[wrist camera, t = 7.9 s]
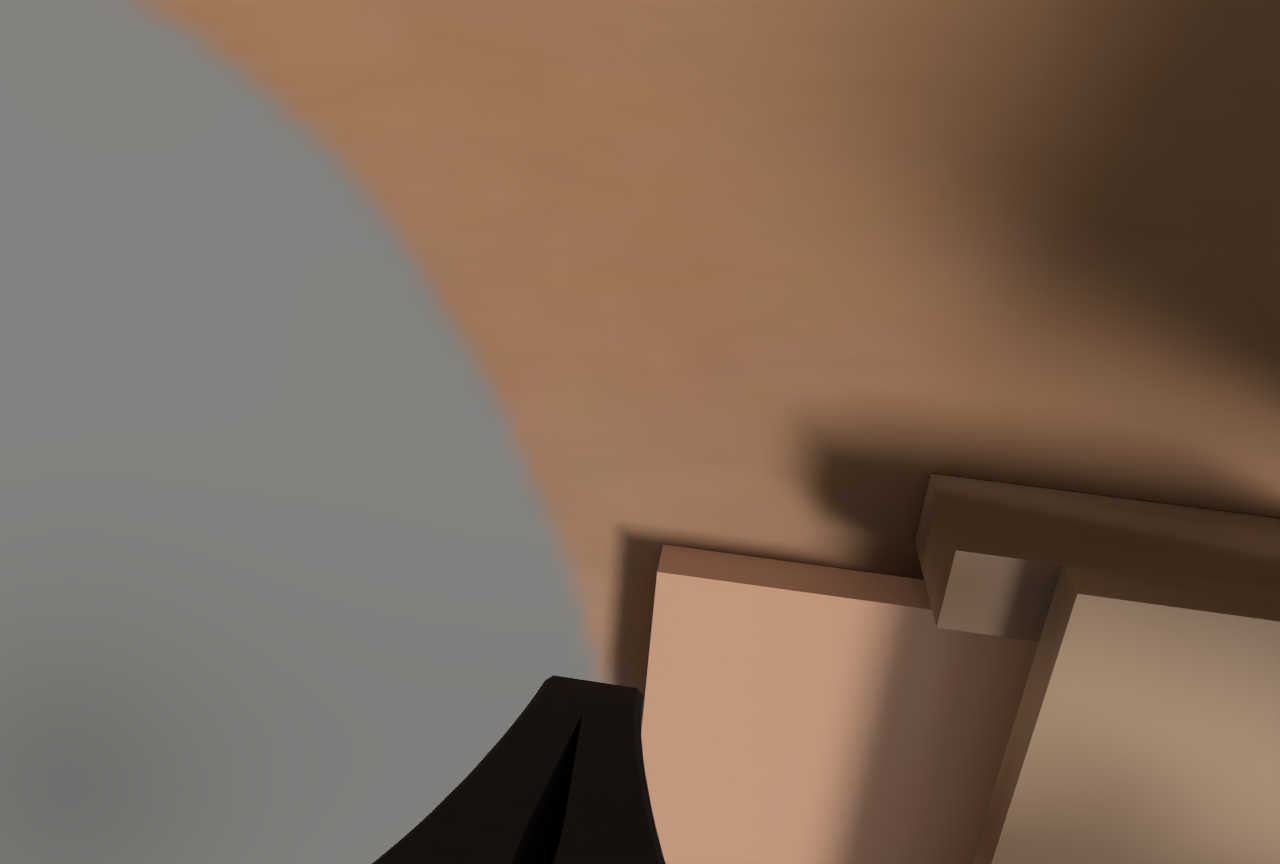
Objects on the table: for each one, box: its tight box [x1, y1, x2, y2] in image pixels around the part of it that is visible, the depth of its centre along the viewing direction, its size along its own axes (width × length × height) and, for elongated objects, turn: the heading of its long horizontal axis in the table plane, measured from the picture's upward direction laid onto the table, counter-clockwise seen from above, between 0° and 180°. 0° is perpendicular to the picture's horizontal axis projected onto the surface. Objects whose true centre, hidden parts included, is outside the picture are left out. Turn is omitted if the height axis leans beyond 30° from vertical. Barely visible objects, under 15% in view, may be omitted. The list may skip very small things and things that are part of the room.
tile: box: [641, 544, 1039, 864], centre depth 24 cm, size 9×12×2 cm
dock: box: [915, 474, 1280, 864], centre depth 22 cm, size 15×9×4 cm, turn 175°
